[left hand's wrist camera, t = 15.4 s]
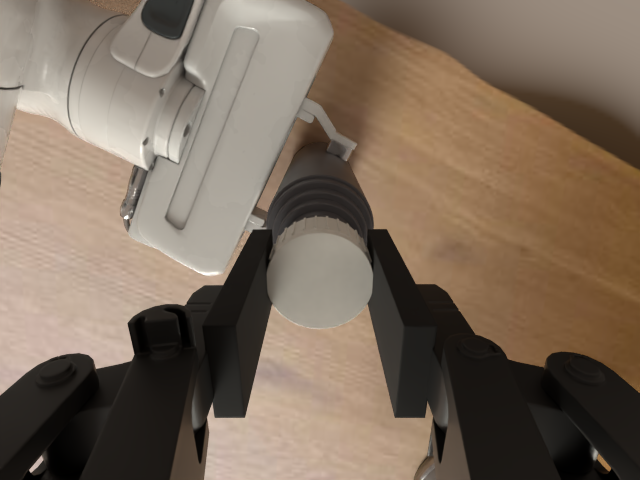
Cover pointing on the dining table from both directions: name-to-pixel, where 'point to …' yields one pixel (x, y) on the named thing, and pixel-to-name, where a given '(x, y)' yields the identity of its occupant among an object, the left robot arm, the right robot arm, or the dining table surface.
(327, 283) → the cap
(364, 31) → the dining table surface
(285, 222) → the bottle
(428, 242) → the dining table surface
